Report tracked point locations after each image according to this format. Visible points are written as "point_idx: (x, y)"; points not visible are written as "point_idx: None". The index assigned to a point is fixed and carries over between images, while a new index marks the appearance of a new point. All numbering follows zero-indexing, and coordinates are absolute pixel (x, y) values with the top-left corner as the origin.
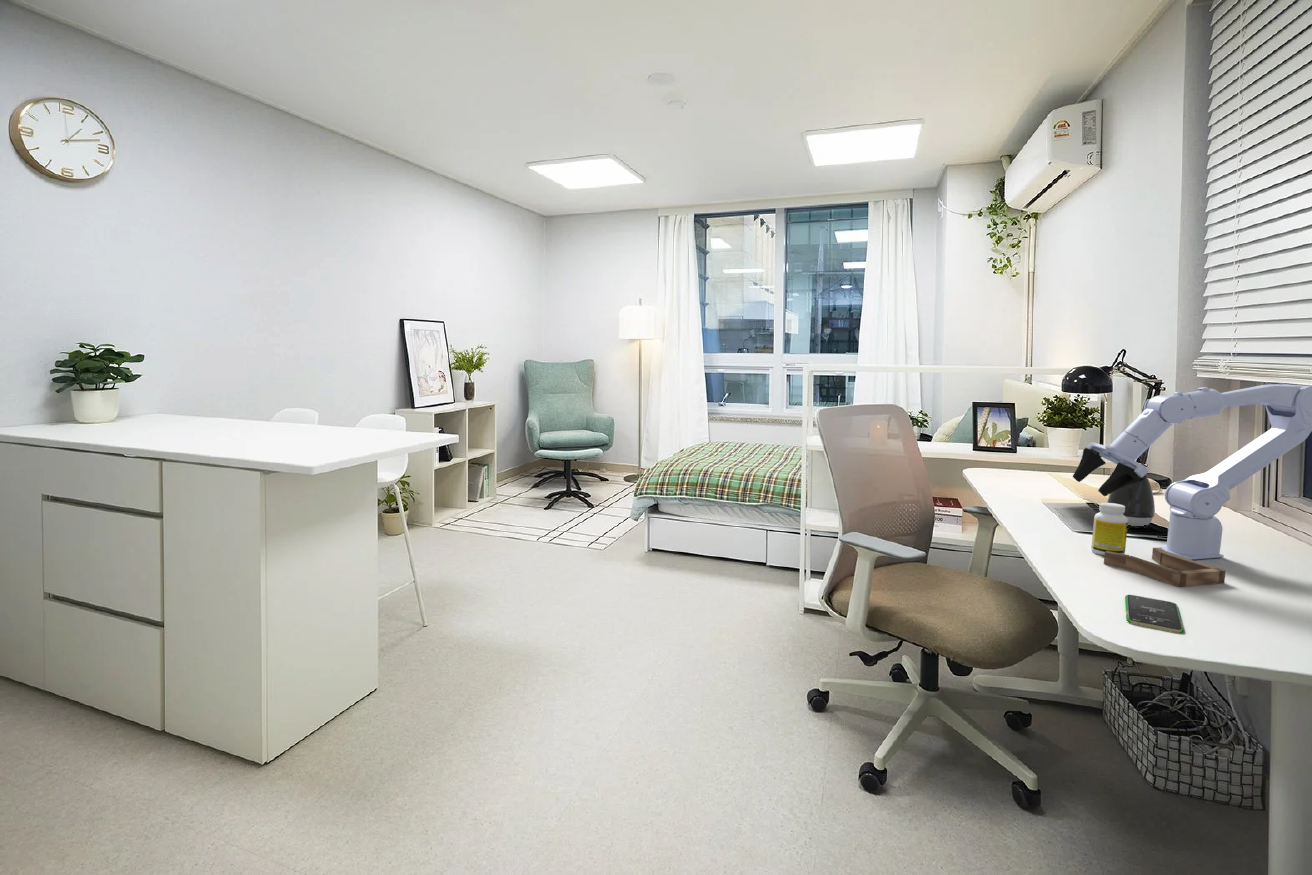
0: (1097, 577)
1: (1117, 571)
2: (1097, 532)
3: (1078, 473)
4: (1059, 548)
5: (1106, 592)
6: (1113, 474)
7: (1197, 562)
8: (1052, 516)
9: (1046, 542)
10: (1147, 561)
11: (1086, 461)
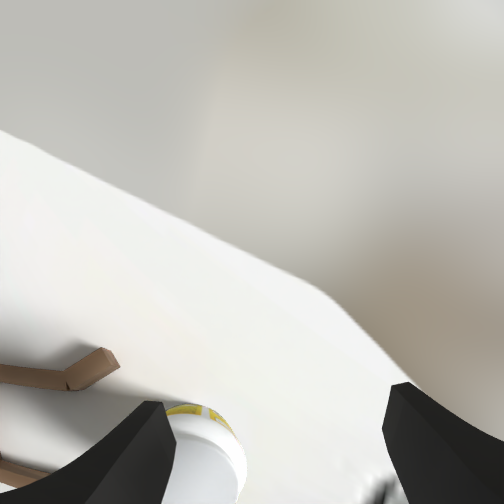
0: (48, 254)
1: (61, 332)
2: (187, 408)
3: (406, 412)
4: (250, 342)
5: (6, 209)
6: (72, 489)
7: (19, 485)
8: None
9: (308, 346)
10: (27, 382)
11: (465, 475)
